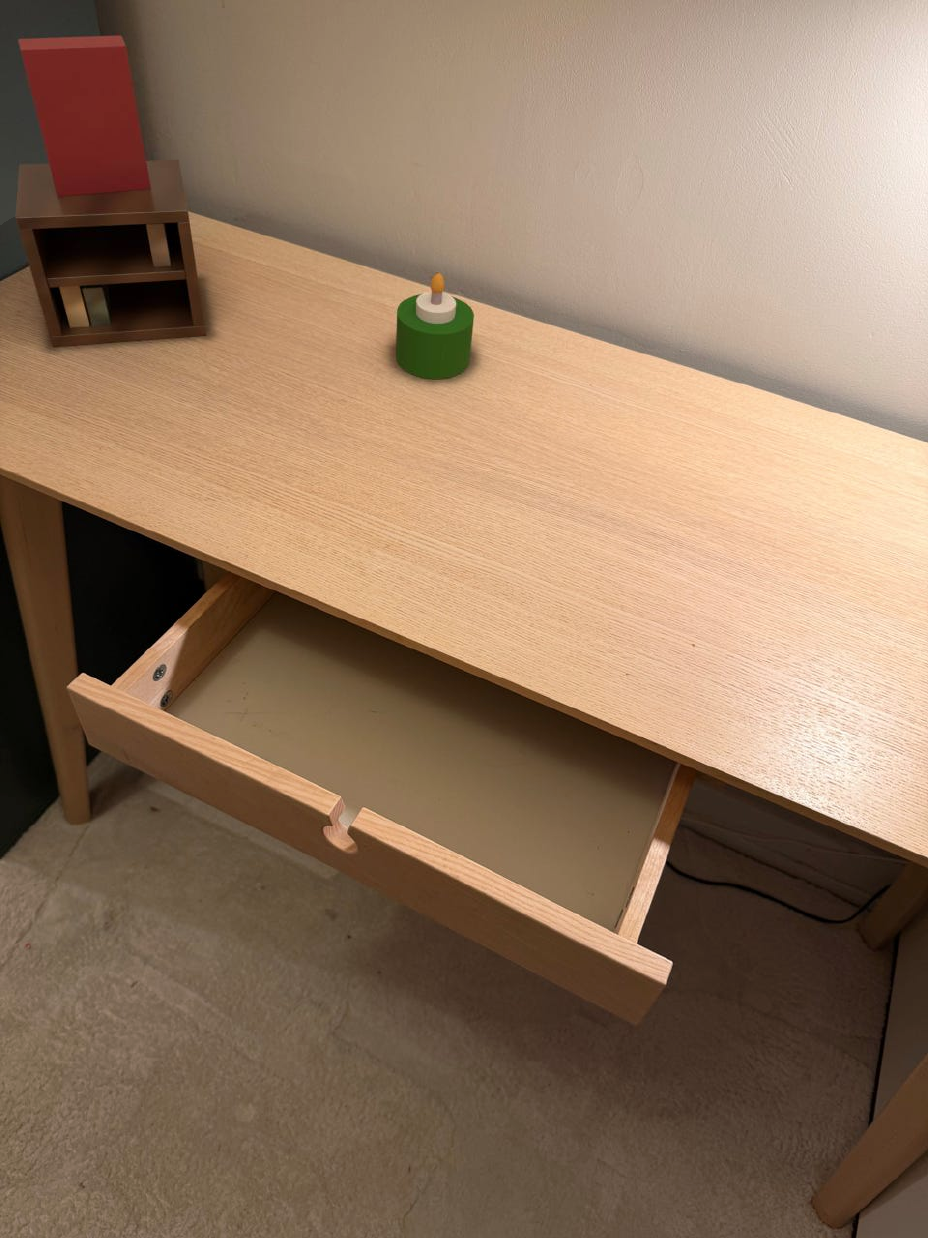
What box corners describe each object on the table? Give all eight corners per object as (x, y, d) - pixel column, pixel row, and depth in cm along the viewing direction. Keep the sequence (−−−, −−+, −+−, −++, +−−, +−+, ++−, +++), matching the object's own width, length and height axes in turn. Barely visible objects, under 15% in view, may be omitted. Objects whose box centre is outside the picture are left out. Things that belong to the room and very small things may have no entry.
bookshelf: (52, 346, 97) (15, 217, 87) (54, 289, 105) (19, 163, 94) (206, 335, 101) (187, 210, 91) (197, 280, 109) (179, 159, 98)
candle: (403, 381, 98) (406, 296, 91) (389, 339, 104) (391, 255, 96) (477, 376, 100) (486, 292, 93) (460, 335, 105) (467, 252, 98)
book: (57, 196, 90) (20, 49, 81) (54, 184, 92) (17, 38, 82) (150, 188, 93) (125, 45, 83) (146, 177, 95) (121, 34, 85)
